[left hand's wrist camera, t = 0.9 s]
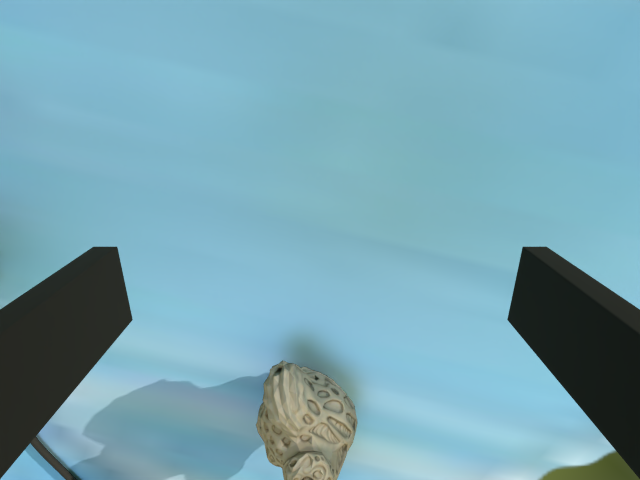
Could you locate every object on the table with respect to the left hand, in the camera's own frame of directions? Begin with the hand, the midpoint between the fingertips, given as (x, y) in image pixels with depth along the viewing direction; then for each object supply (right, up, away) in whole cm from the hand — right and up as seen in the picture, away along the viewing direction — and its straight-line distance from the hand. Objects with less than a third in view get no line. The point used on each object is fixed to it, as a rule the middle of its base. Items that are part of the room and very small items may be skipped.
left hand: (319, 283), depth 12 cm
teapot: (-1, -19, +37) cm, 42 cm away
